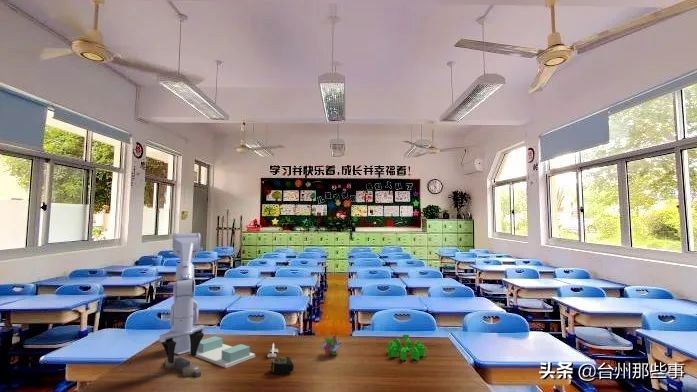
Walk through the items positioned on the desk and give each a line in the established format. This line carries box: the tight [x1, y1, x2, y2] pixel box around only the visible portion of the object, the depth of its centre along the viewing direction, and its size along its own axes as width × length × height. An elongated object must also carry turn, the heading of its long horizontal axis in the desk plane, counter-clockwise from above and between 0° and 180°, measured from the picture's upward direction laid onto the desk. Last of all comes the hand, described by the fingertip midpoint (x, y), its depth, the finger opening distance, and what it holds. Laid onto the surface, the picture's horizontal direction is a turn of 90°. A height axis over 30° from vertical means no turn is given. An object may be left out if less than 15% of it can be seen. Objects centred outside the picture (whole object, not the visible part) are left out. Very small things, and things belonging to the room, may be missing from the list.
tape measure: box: [270, 356, 295, 375], centre depth 115 cm, size 7×7×4 cm
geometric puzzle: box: [320, 335, 342, 358], centre depth 129 cm, size 7×7×8 cm
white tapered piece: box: [267, 342, 279, 358], centre depth 126 cm, size 15×7×4 cm, turn 3°
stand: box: [189, 335, 256, 369], centre depth 129 cm, size 22×12×4 cm, turn 54°
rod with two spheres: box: [164, 356, 202, 378], centre depth 117 cm, size 20×5×3 cm, turn 54°
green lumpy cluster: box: [385, 334, 428, 362], centre depth 129 cm, size 15×15×7 cm
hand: (182, 358), depth 117 cm, fingers open, 7 cm apart
